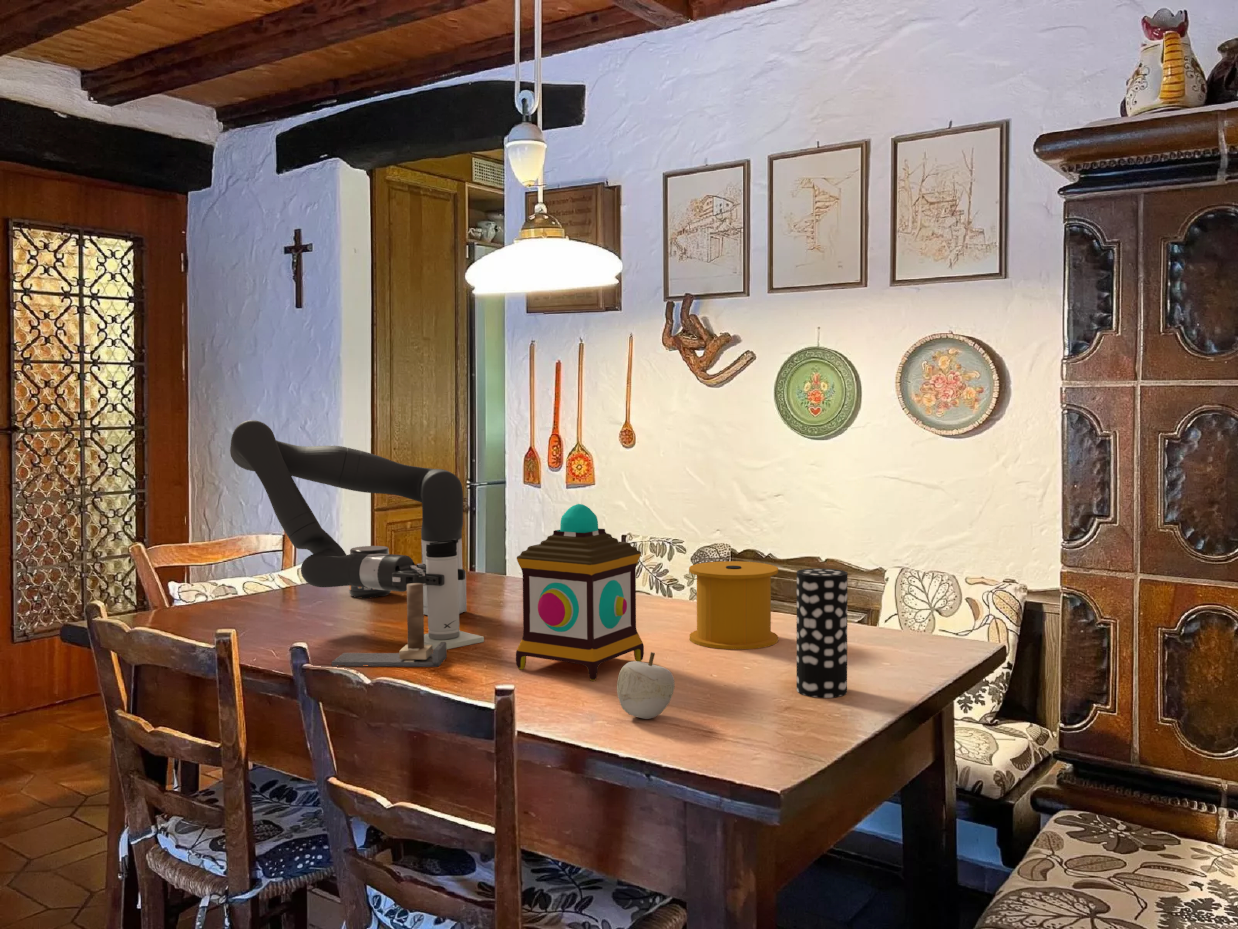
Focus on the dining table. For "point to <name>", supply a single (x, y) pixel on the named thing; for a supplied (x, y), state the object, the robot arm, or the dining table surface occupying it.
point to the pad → (455, 640)
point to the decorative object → (644, 688)
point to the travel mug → (443, 590)
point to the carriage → (415, 625)
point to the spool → (733, 605)
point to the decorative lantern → (579, 595)
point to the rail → (392, 659)
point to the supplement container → (366, 591)
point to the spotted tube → (822, 632)
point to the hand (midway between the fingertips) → (453, 577)
